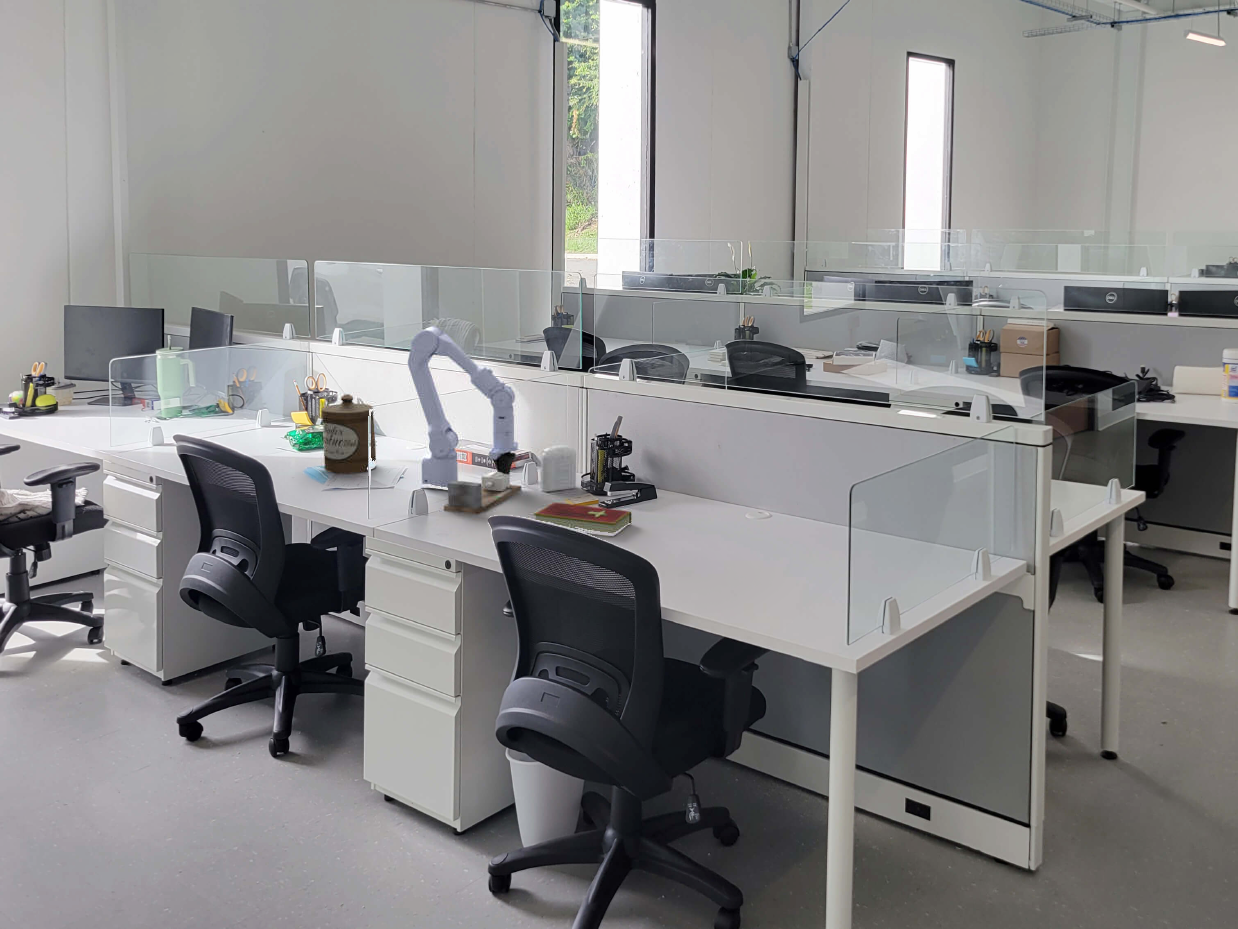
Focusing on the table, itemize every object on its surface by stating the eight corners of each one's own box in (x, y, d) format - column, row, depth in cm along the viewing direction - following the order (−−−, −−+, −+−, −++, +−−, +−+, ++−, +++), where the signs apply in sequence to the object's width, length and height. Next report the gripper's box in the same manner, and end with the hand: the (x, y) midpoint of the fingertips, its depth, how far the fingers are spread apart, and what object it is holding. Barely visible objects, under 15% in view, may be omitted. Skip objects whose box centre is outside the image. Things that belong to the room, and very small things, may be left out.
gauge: (476, 491, 290) (476, 476, 289) (489, 484, 297) (489, 470, 296) (503, 494, 287) (503, 479, 286) (515, 487, 294) (515, 472, 294)
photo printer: (570, 485, 304) (570, 442, 301) (578, 488, 301) (578, 445, 298) (538, 489, 298) (538, 446, 296) (546, 493, 295) (546, 449, 292)
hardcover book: (554, 516, 275) (554, 500, 274) (631, 526, 268) (631, 509, 267) (533, 529, 264) (533, 512, 263) (613, 539, 257) (614, 522, 256)
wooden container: (314, 469, 317) (310, 395, 312) (349, 459, 329) (346, 388, 324) (352, 476, 310) (348, 400, 305) (386, 466, 322) (384, 393, 317)
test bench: (443, 510, 277) (443, 483, 275) (488, 486, 301) (488, 461, 299) (479, 514, 274) (478, 487, 272) (521, 490, 298) (521, 464, 296)
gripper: (505, 437, 287) (506, 486, 290) (527, 427, 300) (527, 474, 304) (481, 435, 289) (482, 484, 292) (504, 425, 303) (504, 472, 306)
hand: (503, 479), depth 298 cm, fingers closed
